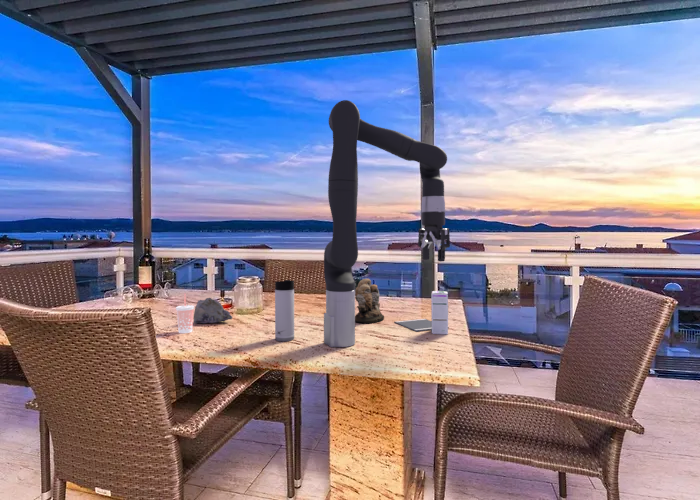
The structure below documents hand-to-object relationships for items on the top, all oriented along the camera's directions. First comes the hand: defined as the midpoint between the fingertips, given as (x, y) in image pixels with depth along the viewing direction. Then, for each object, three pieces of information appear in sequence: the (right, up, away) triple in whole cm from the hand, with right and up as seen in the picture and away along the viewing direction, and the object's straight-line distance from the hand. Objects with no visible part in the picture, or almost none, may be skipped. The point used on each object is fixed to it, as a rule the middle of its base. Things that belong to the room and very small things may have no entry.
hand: (433, 260), depth 135 cm
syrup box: (+4, -26, +12) cm, 29 cm away
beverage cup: (-86, -26, +12) cm, 90 cm away
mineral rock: (-81, -25, +26) cm, 89 cm away
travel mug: (-49, -26, +2) cm, 56 cm away
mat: (0, -25, +23) cm, 34 cm away
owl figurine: (-20, -25, +33) cm, 46 cm away
